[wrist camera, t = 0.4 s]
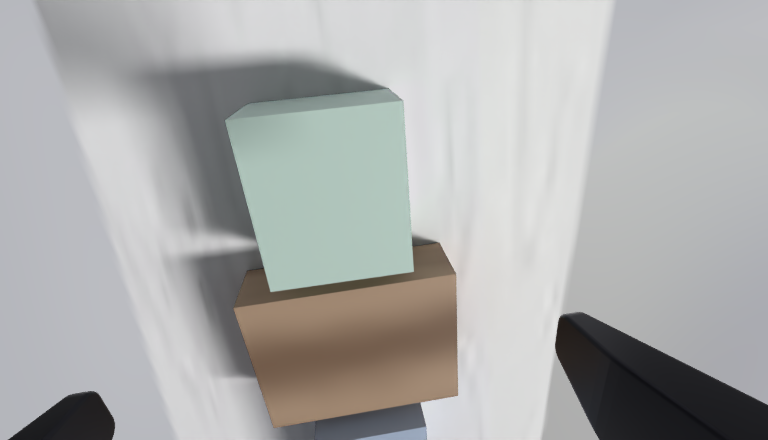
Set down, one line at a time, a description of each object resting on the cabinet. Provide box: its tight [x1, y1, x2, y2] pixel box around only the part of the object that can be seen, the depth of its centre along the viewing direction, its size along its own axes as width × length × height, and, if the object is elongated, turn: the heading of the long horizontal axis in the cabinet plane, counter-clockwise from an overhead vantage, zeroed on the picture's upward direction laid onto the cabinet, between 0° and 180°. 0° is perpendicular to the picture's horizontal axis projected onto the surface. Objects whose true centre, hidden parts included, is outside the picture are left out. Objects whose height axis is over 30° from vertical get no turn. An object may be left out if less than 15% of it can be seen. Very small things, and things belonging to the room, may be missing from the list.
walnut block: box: [233, 243, 458, 428], centre depth 20 cm, size 8×10×3 cm
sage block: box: [225, 88, 414, 292], centre depth 16 cm, size 7×6×4 cm
